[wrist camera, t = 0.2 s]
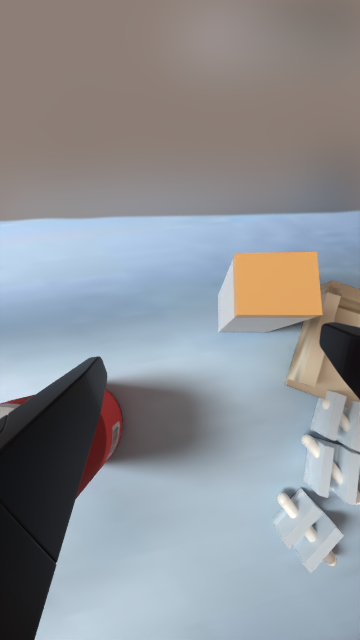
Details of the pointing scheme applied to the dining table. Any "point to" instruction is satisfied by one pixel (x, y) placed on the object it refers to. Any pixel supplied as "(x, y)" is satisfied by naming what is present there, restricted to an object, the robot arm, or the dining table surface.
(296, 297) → the orange-topped block
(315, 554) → the clip
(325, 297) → the holder
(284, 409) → the dining table surface
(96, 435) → the canned food
